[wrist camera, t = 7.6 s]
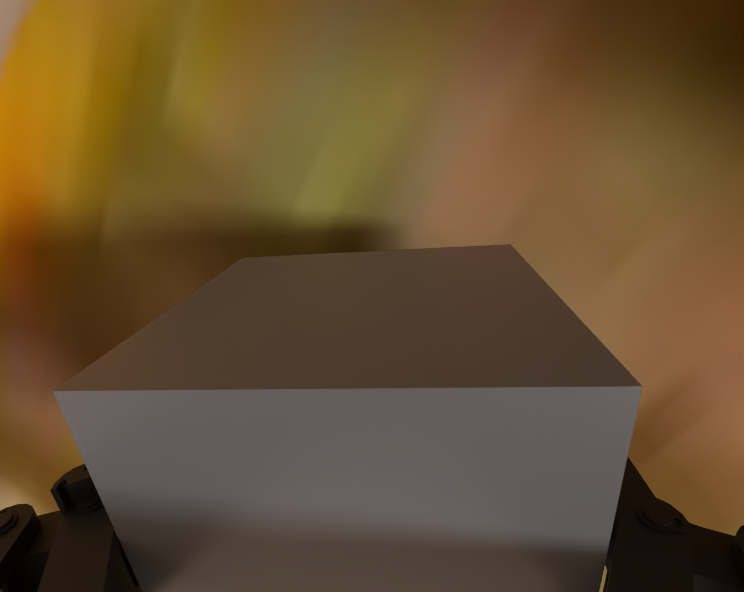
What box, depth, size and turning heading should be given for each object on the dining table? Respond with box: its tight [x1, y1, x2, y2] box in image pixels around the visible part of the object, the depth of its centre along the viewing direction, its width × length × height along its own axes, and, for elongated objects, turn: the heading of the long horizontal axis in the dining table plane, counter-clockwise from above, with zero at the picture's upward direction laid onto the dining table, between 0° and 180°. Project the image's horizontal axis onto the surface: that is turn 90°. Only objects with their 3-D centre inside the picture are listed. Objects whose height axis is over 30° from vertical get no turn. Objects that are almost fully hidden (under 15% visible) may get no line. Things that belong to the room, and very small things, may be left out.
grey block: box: [53, 244, 642, 592], centre depth 13 cm, size 10×10×9 cm
